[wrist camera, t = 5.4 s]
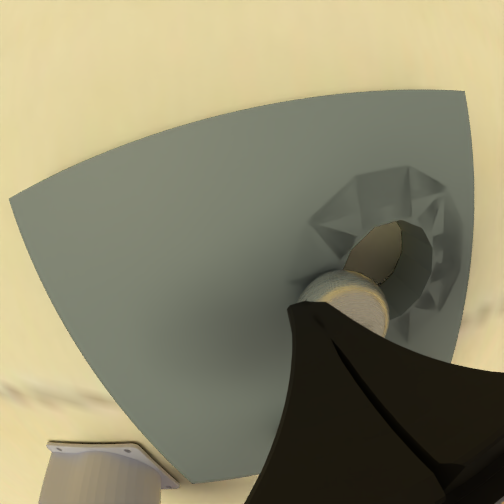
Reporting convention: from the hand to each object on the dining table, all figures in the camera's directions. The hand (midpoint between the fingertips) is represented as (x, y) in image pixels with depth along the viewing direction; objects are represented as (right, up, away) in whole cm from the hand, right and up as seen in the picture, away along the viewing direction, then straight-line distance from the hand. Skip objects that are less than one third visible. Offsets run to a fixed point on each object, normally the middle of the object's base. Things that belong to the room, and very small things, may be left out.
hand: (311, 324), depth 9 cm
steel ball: (+1, 0, 0) cm, 1 cm away
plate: (0, -1, +5) cm, 5 cm away
